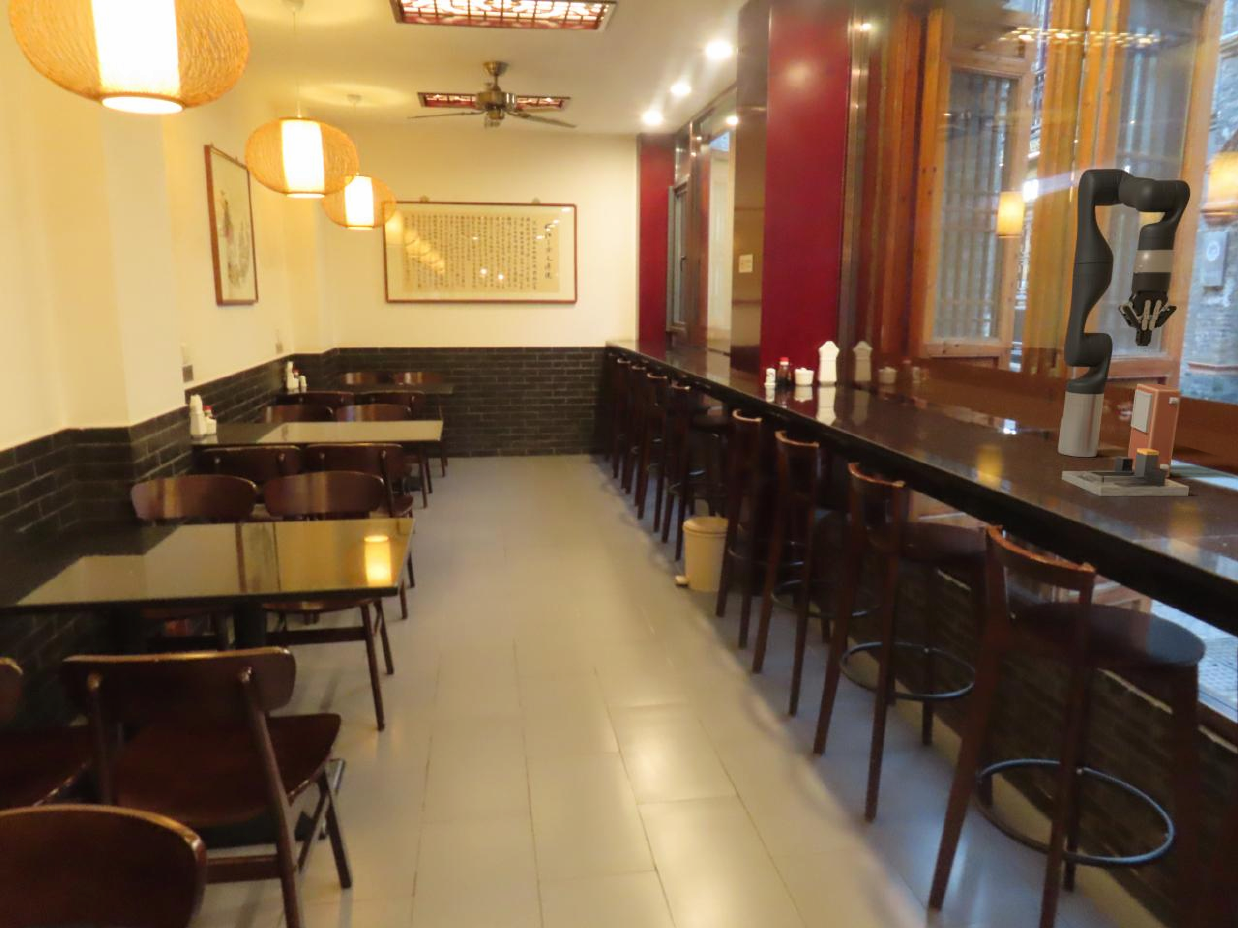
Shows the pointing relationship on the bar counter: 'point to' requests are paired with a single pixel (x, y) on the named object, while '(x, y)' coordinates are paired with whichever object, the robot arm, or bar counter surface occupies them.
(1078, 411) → the robot arm
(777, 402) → the bar counter surface
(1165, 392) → the orange rectangular box
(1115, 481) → the breaker board
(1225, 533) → the bar counter surface
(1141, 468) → the block
